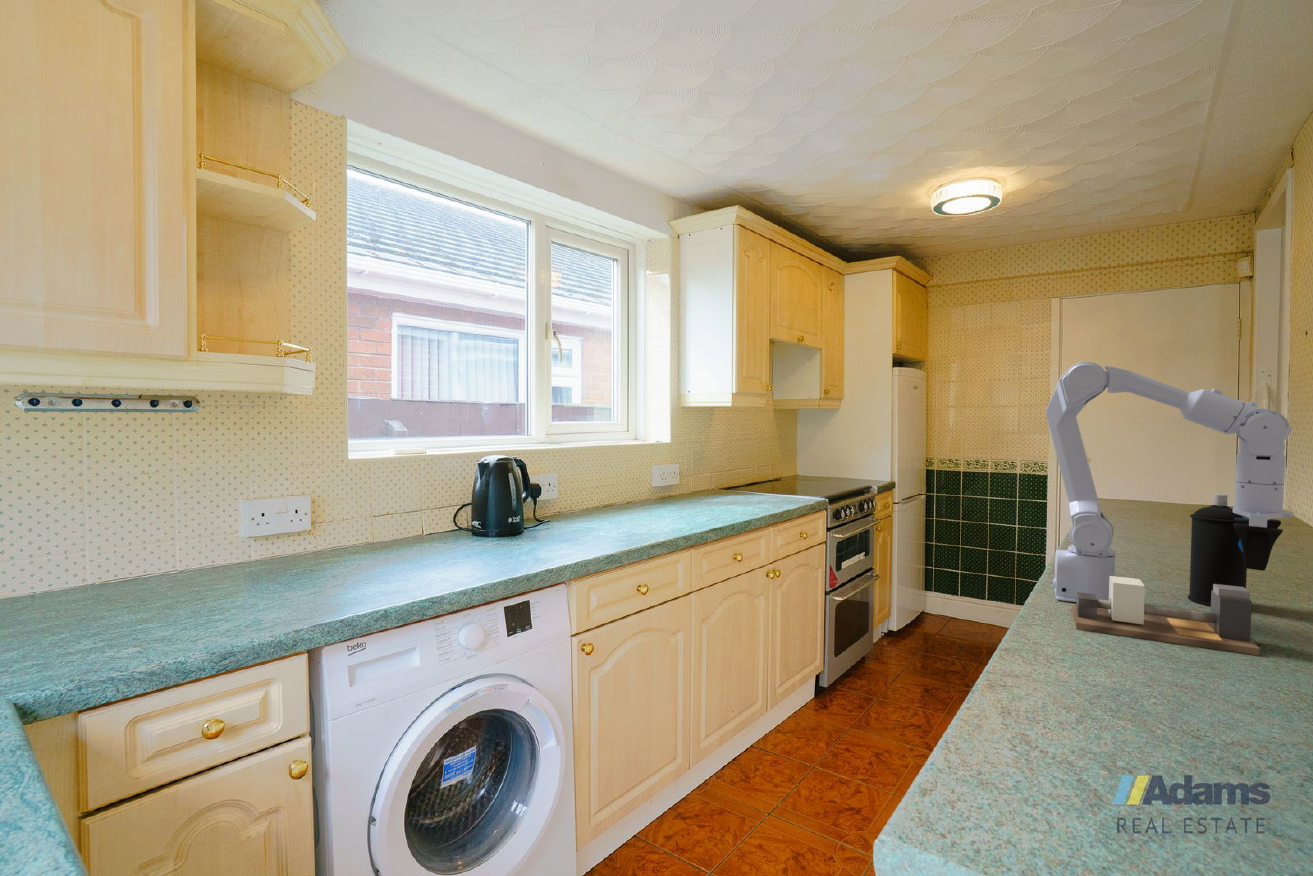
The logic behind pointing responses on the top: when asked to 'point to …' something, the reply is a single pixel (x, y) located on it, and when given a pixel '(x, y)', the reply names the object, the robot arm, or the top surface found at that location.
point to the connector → (1231, 612)
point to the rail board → (1157, 625)
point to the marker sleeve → (1126, 599)
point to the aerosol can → (1215, 550)
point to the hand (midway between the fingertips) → (1255, 565)
